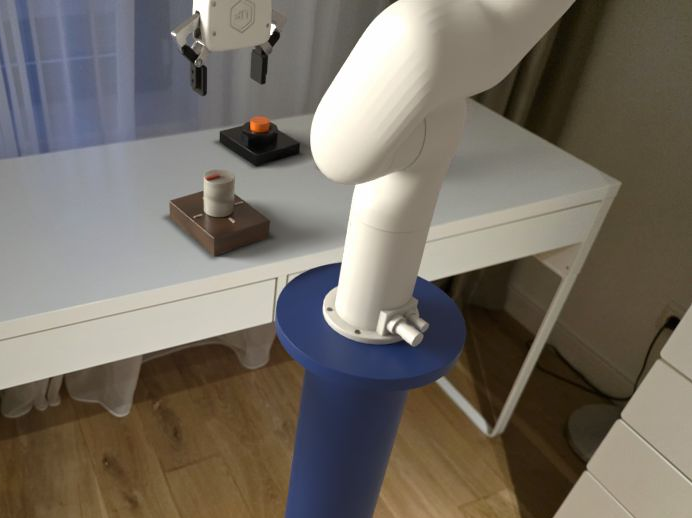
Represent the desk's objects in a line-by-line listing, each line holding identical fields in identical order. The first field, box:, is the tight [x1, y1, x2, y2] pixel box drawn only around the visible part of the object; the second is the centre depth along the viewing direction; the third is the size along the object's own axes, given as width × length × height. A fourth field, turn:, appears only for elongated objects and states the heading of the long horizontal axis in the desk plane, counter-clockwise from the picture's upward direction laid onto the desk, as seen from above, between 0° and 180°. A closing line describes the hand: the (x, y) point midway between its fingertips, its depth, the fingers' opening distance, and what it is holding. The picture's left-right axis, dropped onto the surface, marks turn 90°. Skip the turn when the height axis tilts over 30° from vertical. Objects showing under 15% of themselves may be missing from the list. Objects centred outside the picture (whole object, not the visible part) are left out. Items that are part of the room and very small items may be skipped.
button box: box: [218, 120, 301, 167], centre depth 122 cm, size 12×10×4 cm
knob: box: [203, 169, 236, 217], centre depth 98 cm, size 5×5×6 cm
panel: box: [168, 190, 271, 257], centre depth 101 cm, size 13×10×3 cm
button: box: [249, 116, 271, 132], centre depth 121 cm, size 4×4×2 cm
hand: (229, 87), depth 94 cm, fingers open, 9 cm apart
